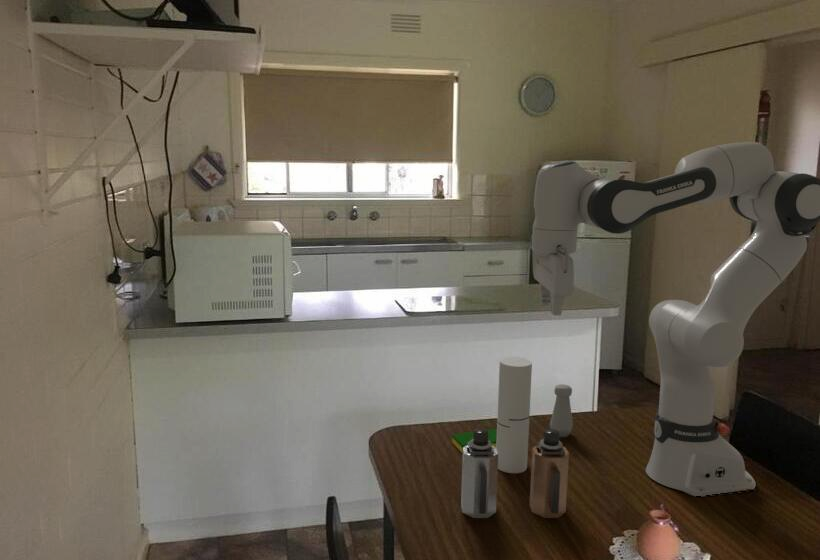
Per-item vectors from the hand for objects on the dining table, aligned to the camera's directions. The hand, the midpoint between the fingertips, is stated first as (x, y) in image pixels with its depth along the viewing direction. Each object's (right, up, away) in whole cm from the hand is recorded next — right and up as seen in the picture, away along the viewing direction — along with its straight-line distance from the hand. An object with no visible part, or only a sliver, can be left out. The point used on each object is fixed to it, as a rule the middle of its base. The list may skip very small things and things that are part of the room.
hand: (550, 309), depth 137 cm
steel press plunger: (-15, -36, -4) cm, 39 cm away
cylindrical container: (-6, -37, +16) cm, 41 cm away
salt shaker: (+10, -34, +34) cm, 49 cm away
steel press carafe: (-15, -40, -4) cm, 43 cm away
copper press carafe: (-1, -40, -4) cm, 41 cm away
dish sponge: (-11, -35, +28) cm, 46 cm away
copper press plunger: (-1, -36, -3) cm, 36 cm away
